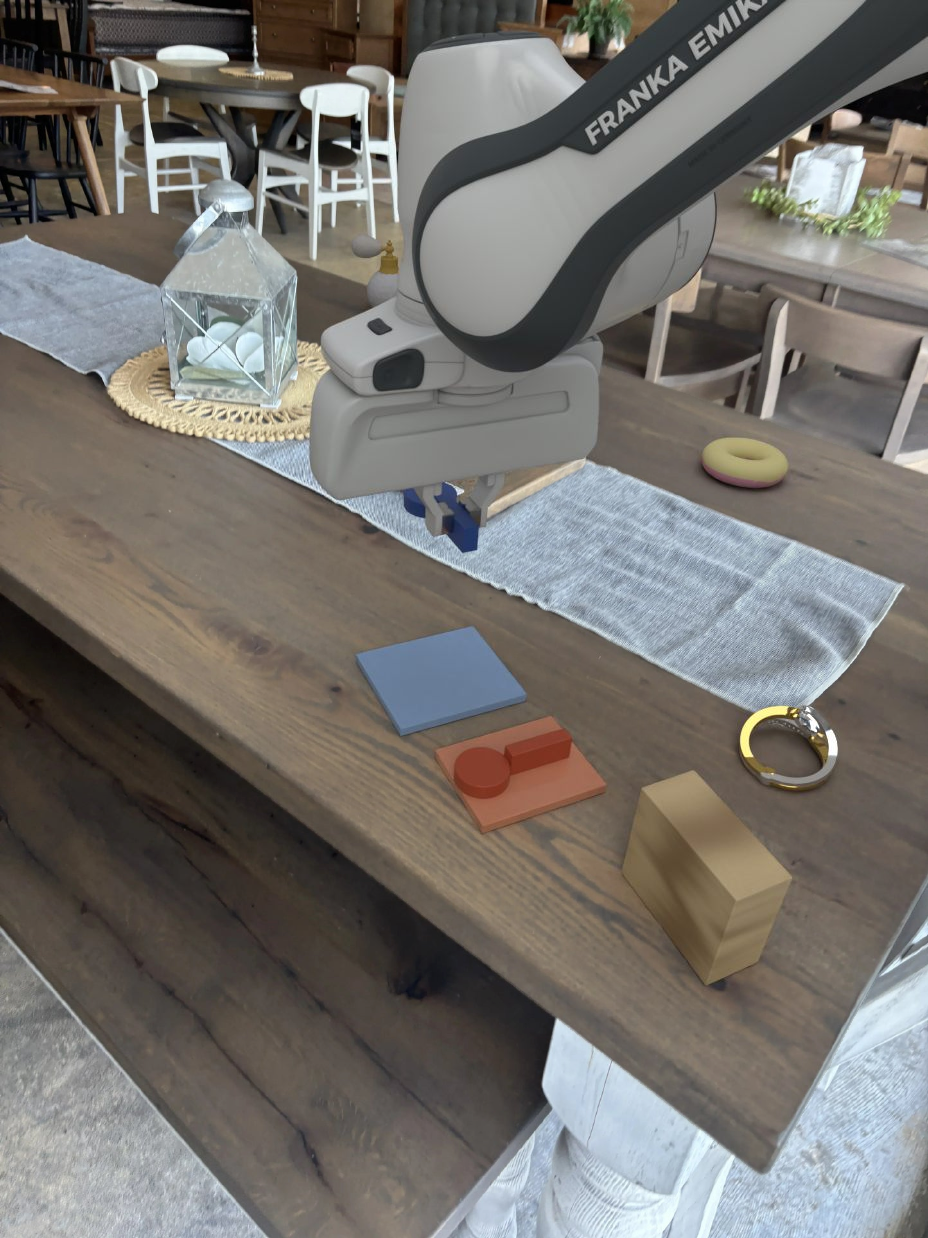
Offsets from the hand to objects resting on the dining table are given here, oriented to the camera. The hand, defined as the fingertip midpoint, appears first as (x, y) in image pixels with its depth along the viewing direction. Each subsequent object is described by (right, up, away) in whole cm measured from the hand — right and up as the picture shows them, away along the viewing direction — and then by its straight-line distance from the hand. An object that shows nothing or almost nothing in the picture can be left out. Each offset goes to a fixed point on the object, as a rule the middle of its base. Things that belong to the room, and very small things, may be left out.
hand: (455, 528), depth 65 cm
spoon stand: (+15, -25, -8) cm, 30 cm away
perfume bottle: (-13, +45, +88) cm, 100 cm away
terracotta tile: (+5, -18, +2) cm, 19 cm away
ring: (+23, -19, +2) cm, 29 cm away
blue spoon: (-1, 0, +1) cm, 2 cm away
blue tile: (-1, -12, +10) cm, 15 cm away
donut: (+34, +11, +45) cm, 57 cm away
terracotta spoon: (+5, -17, +1) cm, 18 cm away
